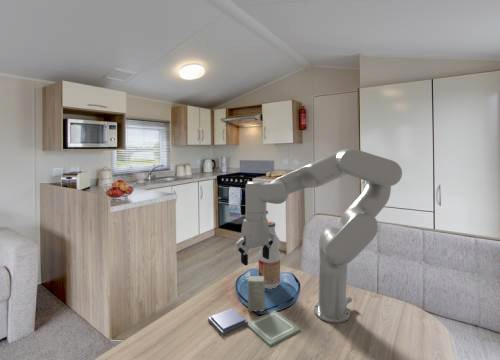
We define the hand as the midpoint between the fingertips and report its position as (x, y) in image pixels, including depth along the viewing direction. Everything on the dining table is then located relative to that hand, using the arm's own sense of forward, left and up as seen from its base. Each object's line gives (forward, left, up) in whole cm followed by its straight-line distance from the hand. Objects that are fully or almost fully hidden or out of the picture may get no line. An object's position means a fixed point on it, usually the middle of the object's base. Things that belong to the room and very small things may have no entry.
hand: (255, 261), depth 104 cm
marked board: (+2, +12, -19) cm, 22 cm away
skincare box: (0, 0, -19) cm, 19 cm away
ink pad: (+13, +1, -19) cm, 23 cm away
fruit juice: (-16, -12, -19) cm, 28 cm away
